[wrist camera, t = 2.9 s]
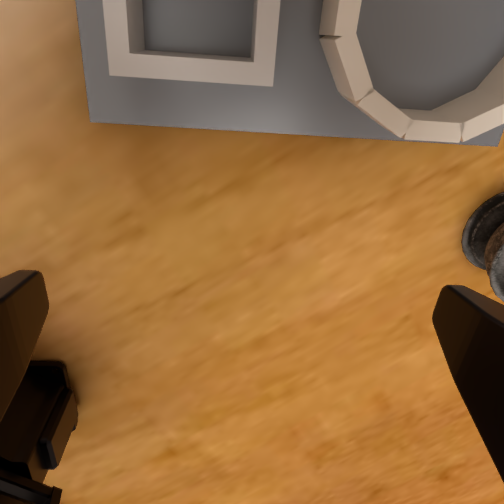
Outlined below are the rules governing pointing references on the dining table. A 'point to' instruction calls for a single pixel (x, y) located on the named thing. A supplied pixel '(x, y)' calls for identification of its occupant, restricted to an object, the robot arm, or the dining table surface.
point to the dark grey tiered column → (487, 241)
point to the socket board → (299, 66)
